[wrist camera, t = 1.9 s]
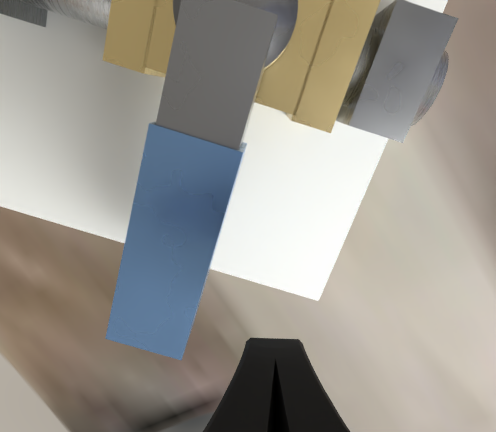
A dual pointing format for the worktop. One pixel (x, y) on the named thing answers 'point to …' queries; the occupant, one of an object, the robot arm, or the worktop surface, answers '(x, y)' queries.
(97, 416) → the worktop surface
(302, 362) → the robot arm
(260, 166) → the board
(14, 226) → the worktop surface
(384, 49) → the valve
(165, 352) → the lever
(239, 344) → the worktop surface
